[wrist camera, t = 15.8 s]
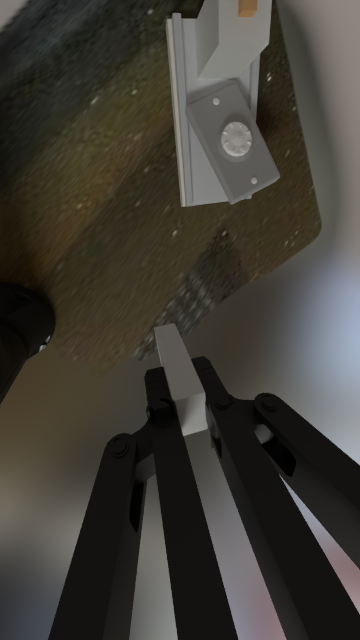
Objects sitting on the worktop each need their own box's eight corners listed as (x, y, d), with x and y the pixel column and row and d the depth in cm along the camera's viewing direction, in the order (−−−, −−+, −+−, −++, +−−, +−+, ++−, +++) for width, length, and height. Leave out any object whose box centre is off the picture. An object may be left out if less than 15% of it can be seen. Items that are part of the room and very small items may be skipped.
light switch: (239, 73, 30) (285, 172, 31) (224, 112, 35) (264, 194, 37) (186, 98, 29) (236, 198, 30) (180, 133, 35) (222, 216, 36)
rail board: (181, 206, 39) (198, 207, 30) (165, 25, 28) (185, -55, 19) (247, 198, 41) (282, 197, 32) (256, 26, 30) (312, -46, 21)
